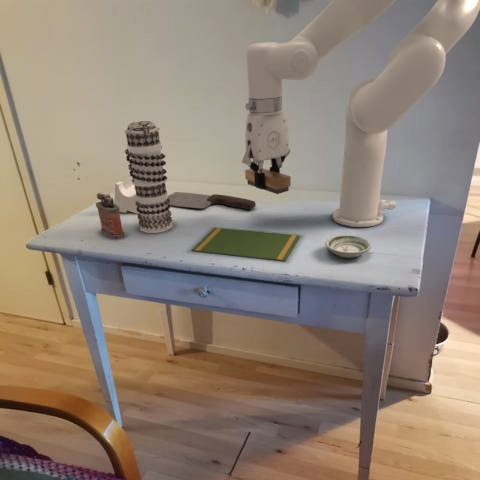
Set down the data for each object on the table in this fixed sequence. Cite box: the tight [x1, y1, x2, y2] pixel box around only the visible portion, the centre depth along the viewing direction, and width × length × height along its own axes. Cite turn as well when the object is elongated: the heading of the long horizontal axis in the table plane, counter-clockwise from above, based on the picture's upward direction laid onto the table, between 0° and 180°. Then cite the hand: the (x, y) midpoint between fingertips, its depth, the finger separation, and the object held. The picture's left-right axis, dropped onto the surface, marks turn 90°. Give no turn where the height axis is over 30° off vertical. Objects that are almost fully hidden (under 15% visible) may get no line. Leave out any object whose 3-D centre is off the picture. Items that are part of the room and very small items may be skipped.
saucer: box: [324, 234, 372, 259], centre depth 98 cm, size 10×10×2 cm
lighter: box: [95, 192, 125, 240], centre depth 111 cm, size 8×3×10 cm, turn 45°
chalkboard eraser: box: [244, 168, 292, 195], centre depth 112 cm, size 4×13×4 cm, turn 36°
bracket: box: [114, 180, 139, 215], centre depth 129 cm, size 13×7×8 cm, turn 168°
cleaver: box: [168, 191, 257, 211], centre depth 129 cm, size 30×10×2 cm, turn 62°
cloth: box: [191, 227, 301, 262], centre depth 105 cm, size 22×14×1 cm, turn 71°
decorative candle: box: [124, 120, 173, 234], centre depth 110 cm, size 9×9×25 cm
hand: (267, 185), depth 112 cm, fingers closed on chalkboard eraser, 4 cm apart
